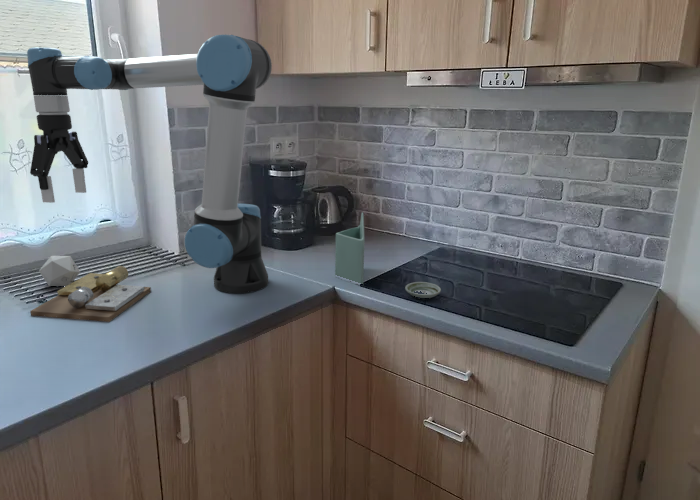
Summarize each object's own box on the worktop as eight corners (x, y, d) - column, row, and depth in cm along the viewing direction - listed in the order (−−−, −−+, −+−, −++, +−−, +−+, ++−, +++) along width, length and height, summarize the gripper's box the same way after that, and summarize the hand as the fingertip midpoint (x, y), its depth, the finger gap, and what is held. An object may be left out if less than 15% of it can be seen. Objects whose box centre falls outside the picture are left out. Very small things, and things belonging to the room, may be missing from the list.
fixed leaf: (144, 290, 140) (143, 275, 138) (115, 310, 126) (113, 295, 125) (102, 287, 141) (100, 272, 140) (69, 307, 128) (67, 291, 127)
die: (54, 295, 140) (76, 264, 141) (26, 277, 140) (48, 246, 141) (70, 295, 149) (91, 265, 149) (44, 278, 149) (64, 248, 150)
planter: (334, 267, 165) (335, 206, 160) (360, 268, 166) (361, 206, 160) (335, 286, 150) (336, 218, 144) (363, 286, 150) (365, 219, 144)
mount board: (150, 291, 143) (150, 287, 143) (109, 321, 124) (108, 317, 124) (82, 286, 145) (81, 282, 145) (30, 315, 126) (30, 310, 126)
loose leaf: (130, 279, 147) (128, 265, 146) (101, 297, 134) (99, 282, 133) (90, 276, 149) (88, 262, 147) (57, 294, 135) (55, 279, 134)
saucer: (399, 290, 148) (400, 282, 147) (431, 288, 150) (432, 280, 150) (412, 304, 139) (412, 295, 138) (446, 301, 142) (446, 292, 141)
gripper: (69, 111, 145) (80, 188, 151) (3, 115, 121) (19, 206, 127) (95, 112, 144) (105, 189, 150) (33, 115, 120) (48, 207, 126)
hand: (65, 197), depth 139 cm, fingers open, 13 cm apart
